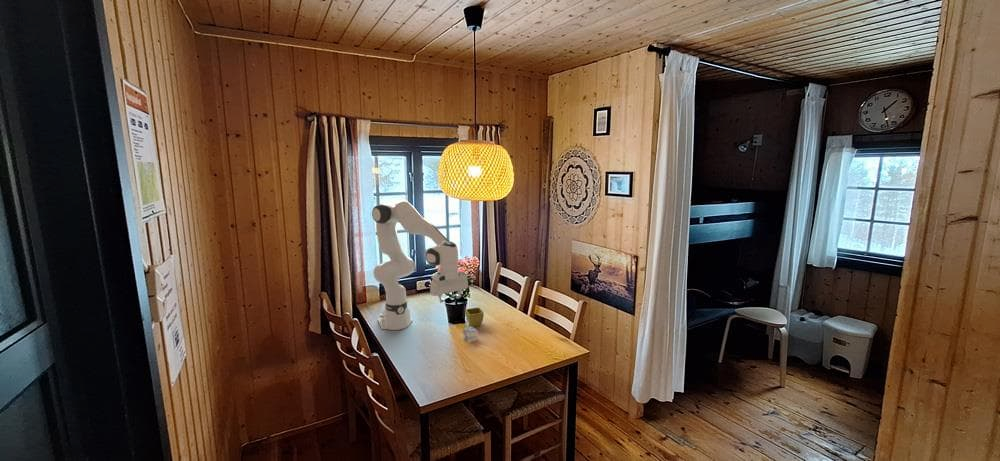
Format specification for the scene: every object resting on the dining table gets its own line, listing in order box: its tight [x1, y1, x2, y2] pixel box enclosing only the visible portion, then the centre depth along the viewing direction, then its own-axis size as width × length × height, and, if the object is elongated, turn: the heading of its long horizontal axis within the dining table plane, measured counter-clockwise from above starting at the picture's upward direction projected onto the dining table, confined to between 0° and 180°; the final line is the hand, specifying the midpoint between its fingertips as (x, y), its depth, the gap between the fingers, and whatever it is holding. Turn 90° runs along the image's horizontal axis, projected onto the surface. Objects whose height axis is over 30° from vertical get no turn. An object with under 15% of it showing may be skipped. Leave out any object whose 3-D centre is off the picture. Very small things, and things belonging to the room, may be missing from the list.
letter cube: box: [462, 326, 478, 343], centre depth 211 cm, size 6×6×6 cm
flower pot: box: [464, 306, 485, 328], centre depth 228 cm, size 9×9×9 cm
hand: (450, 300), depth 199 cm, fingers open, 8 cm apart
